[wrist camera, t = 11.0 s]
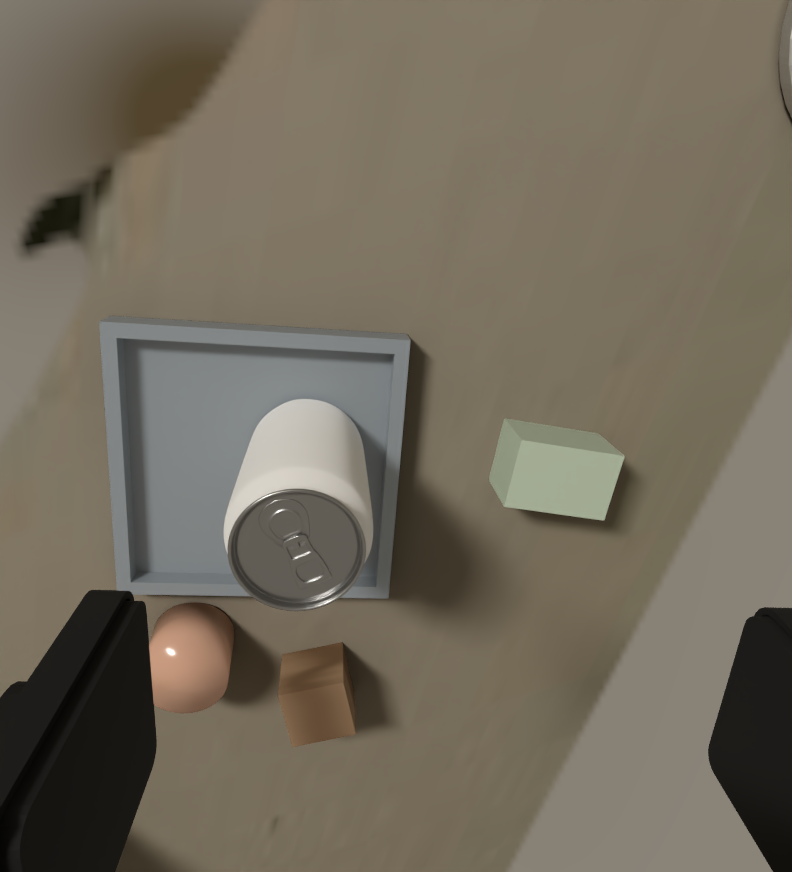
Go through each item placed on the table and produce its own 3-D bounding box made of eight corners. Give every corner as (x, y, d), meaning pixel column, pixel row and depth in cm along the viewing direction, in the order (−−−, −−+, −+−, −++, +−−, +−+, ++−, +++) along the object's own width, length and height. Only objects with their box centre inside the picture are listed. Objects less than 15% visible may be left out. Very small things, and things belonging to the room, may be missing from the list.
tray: (407, 334, 37) (410, 340, 36) (386, 582, 42) (388, 598, 41) (110, 315, 35) (99, 321, 34) (126, 577, 41) (117, 594, 39)
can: (336, 378, 37) (338, 454, 26) (380, 476, 39) (400, 585, 28) (230, 422, 37) (187, 516, 26) (280, 517, 40) (259, 642, 28)
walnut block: (342, 641, 44) (343, 682, 40) (354, 689, 45) (355, 734, 41) (282, 653, 44) (277, 695, 40) (295, 701, 45) (292, 747, 41)
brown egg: (176, 590, 41) (163, 633, 37) (248, 621, 42) (243, 665, 39) (139, 648, 42) (123, 695, 38) (211, 676, 44) (202, 724, 40)
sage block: (597, 432, 41) (624, 456, 37) (579, 492, 42) (604, 520, 38) (503, 417, 40) (521, 440, 36) (488, 478, 41) (504, 506, 37)
